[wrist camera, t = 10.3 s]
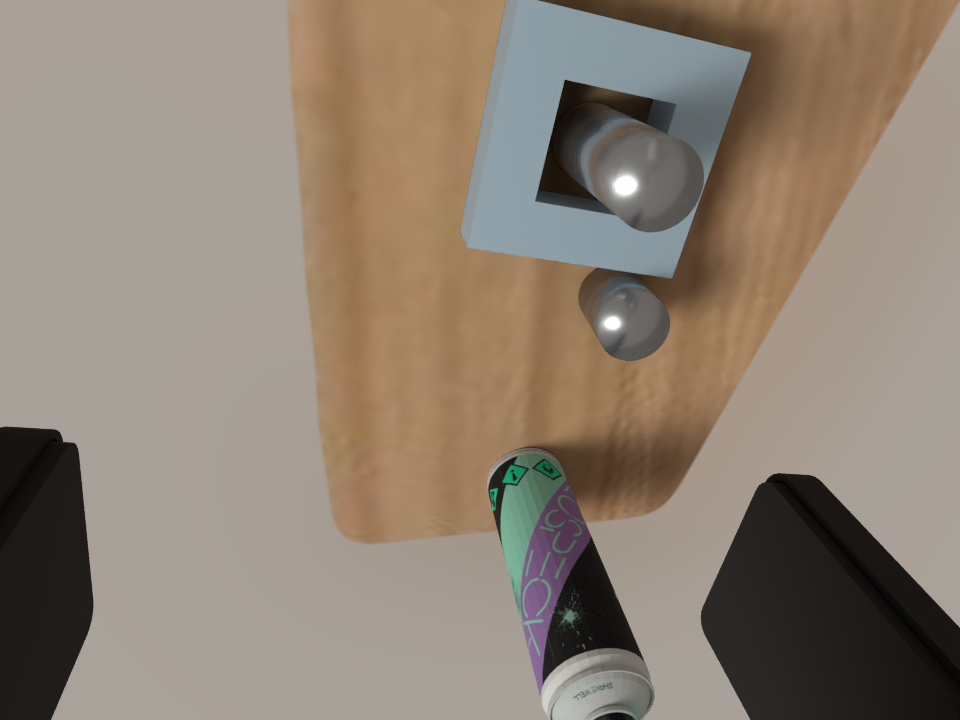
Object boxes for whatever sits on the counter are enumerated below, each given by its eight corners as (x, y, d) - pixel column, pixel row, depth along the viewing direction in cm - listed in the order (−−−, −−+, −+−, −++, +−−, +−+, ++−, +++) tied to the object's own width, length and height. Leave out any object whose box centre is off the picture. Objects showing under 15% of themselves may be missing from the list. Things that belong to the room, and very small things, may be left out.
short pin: (607, 251, 40) (632, 281, 36) (655, 286, 42) (684, 319, 37) (565, 302, 42) (584, 338, 37) (613, 335, 43) (636, 372, 39)
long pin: (563, 95, 36) (630, 128, 27) (631, 110, 37) (717, 147, 28) (544, 170, 38) (601, 224, 29) (610, 182, 39) (684, 238, 30)
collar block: (507, -5, 33) (519, -5, 31) (723, 48, 36) (751, 52, 33) (460, 230, 38) (467, 247, 36) (652, 260, 41) (671, 278, 39)
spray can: (577, 464, 48) (701, 732, 30) (534, 518, 50) (628, 801, 32) (513, 436, 46) (607, 706, 28) (471, 494, 48) (535, 781, 30)
